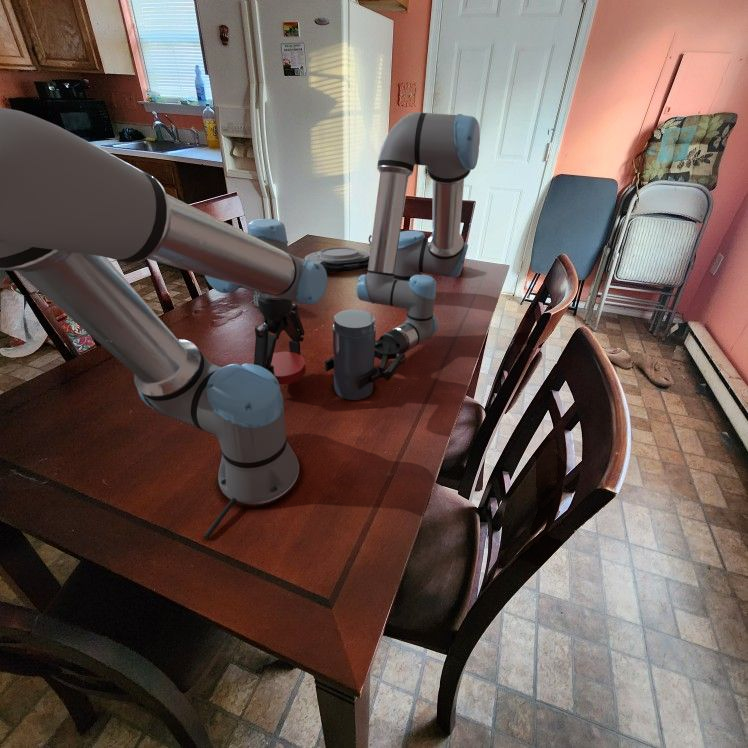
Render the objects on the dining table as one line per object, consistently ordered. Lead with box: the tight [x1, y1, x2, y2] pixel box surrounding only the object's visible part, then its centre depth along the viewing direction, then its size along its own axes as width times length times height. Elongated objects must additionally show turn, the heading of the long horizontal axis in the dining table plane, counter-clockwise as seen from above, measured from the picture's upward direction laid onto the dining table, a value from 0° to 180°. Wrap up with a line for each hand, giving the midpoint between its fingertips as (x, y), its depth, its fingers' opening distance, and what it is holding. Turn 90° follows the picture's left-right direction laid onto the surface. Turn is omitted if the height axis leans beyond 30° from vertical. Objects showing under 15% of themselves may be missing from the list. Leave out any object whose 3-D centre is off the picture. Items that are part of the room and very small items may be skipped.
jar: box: [332, 308, 377, 401], centre depth 100 cm, size 10×10×20 cm
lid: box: [266, 351, 307, 385], centre depth 102 cm, size 11×11×2 cm
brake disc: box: [304, 246, 370, 275], centre depth 178 cm, size 32×30×5 cm
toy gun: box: [252, 290, 259, 308], centre depth 139 cm, size 4×19×10 cm
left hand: (283, 374), depth 103 cm, fingers closed on lid, 11 cm apart
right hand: (341, 375), depth 100 cm, fingers closed on jar, 10 cm apart
